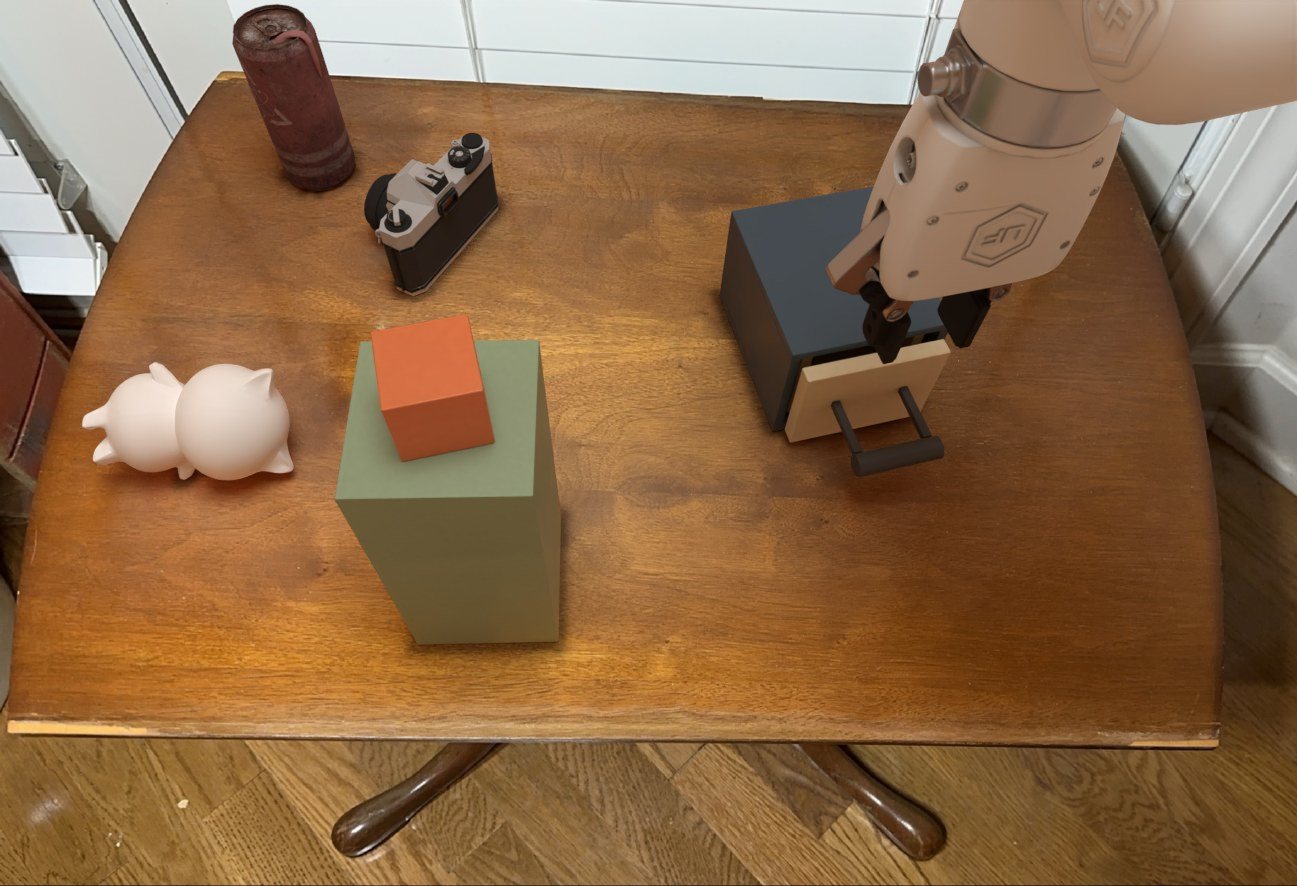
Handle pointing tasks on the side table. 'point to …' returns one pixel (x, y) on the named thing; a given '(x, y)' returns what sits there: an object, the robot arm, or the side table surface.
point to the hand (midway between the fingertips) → (916, 335)
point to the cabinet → (798, 291)
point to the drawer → (869, 400)
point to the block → (431, 387)
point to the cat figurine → (196, 423)
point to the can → (294, 95)
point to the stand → (462, 510)
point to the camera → (432, 211)
